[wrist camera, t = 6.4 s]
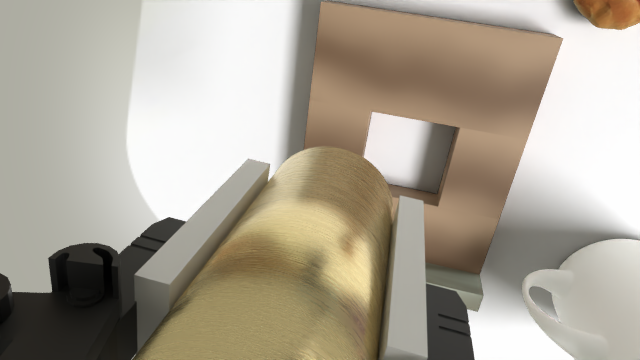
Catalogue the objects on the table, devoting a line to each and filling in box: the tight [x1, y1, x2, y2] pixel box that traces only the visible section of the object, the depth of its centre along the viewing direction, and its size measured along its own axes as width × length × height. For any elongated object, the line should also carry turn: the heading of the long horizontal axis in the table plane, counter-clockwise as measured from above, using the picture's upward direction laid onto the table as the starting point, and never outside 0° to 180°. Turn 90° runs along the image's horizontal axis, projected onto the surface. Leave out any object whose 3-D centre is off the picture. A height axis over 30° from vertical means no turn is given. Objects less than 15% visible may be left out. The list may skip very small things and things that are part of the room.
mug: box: [522, 239, 640, 360], centre depth 28 cm, size 9×12×11 cm
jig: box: [304, 1, 563, 312], centre depth 29 cm, size 18×14×4 cm
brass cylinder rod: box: [132, 146, 393, 360], centre depth 11 cm, size 4×4×10 cm
